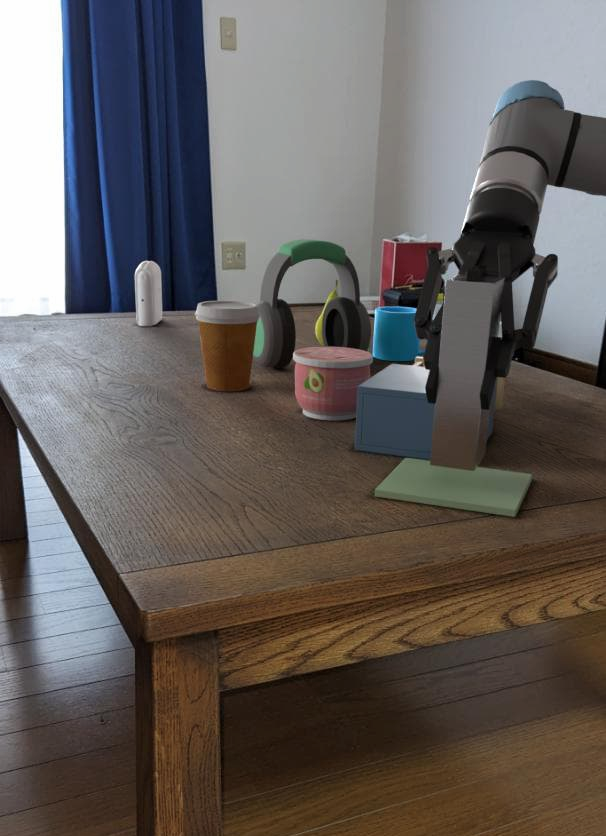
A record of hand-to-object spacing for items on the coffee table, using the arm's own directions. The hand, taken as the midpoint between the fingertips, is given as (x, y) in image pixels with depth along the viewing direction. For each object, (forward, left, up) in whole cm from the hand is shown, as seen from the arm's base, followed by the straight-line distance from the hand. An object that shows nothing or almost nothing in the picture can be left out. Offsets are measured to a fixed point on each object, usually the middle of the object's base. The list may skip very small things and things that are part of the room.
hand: (457, 398), depth 86 cm
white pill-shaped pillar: (+81, -83, -10) cm, 116 cm away
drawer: (+7, -34, -9) cm, 35 cm away
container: (+22, -28, -10) cm, 37 cm away
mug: (+23, -72, -10) cm, 76 cm away
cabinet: (+7, -20, -10) cm, 23 cm away
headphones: (+36, -57, -10) cm, 68 cm away
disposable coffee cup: (+41, -36, -10) cm, 55 cm away
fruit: (+38, -74, -11) cm, 84 cm away
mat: (0, -4, -10) cm, 11 cm away
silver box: (0, -4, -7) cm, 8 cm away
